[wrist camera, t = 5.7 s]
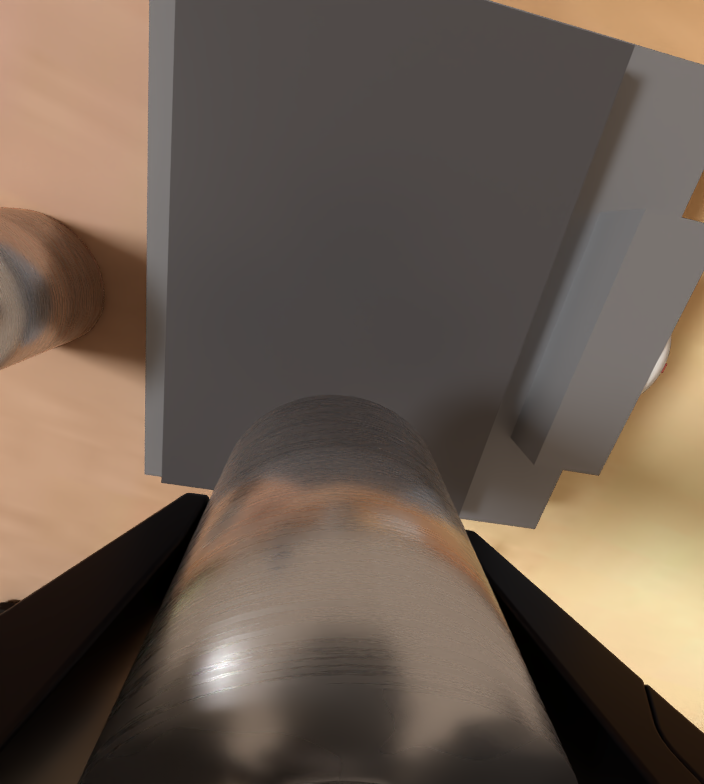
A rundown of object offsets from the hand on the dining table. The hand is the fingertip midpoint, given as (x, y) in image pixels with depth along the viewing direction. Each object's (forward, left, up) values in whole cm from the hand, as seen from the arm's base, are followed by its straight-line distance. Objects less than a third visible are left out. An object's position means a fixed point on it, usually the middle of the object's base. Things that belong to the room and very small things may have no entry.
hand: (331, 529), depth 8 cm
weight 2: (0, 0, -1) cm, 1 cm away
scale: (+4, -2, -9) cm, 10 cm away
